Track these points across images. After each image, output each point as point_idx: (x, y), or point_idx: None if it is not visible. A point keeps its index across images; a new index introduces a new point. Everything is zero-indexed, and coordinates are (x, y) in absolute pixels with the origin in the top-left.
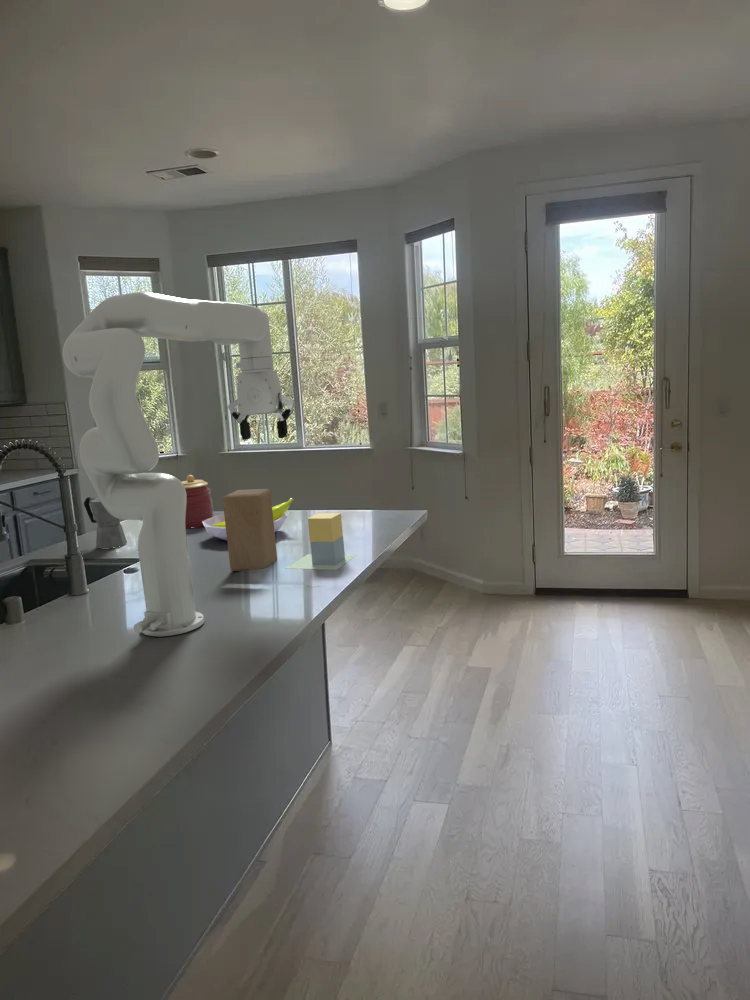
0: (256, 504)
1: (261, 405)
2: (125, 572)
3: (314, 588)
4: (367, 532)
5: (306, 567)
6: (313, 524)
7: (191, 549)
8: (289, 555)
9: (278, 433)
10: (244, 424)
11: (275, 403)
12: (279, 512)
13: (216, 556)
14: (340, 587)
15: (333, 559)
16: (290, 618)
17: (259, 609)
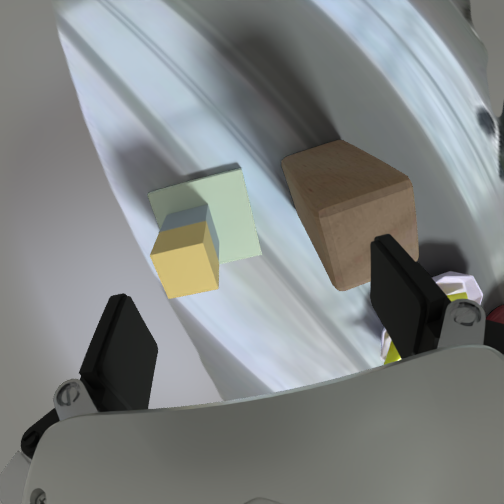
0: (314, 198)
1: (149, 499)
2: (487, 112)
3: (128, 113)
4: (259, 372)
5: (206, 186)
6: (192, 239)
7: (466, 235)
8: (303, 252)
9: (119, 311)
10: (415, 312)
11: (24, 490)
12: (390, 354)
13: (418, 214)
14: (94, 135)
15: (167, 217)
16: (78, 5)
17: (143, 3)
